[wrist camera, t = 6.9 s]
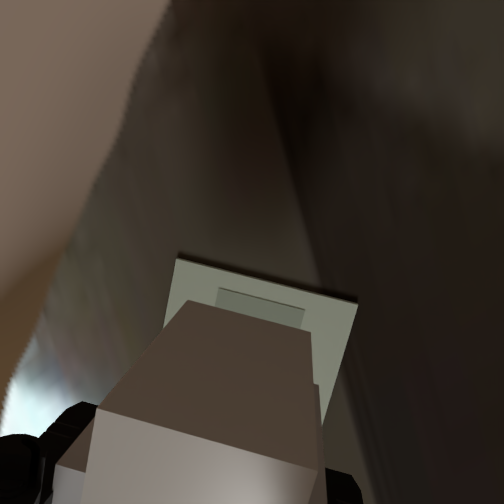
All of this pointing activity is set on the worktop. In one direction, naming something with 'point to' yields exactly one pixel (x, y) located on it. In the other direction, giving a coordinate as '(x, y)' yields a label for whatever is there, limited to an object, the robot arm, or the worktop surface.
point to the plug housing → (209, 416)
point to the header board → (271, 311)
